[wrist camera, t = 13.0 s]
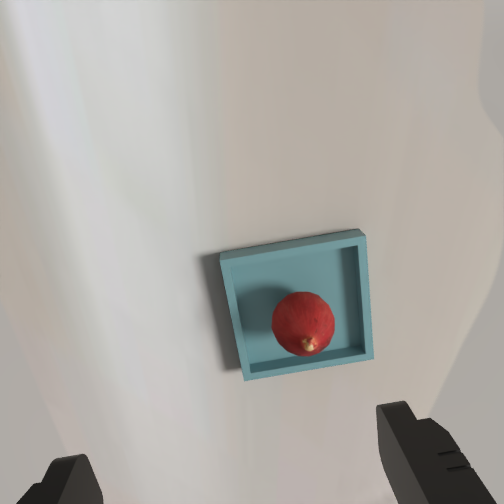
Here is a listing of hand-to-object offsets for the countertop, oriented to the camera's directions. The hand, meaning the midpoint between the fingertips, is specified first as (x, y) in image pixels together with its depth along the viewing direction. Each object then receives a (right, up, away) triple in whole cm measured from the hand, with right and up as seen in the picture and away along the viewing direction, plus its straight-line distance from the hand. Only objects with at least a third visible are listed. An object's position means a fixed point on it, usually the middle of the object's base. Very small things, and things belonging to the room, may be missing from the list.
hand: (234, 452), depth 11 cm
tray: (+5, 0, +30) cm, 31 cm away
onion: (+5, 0, +30) cm, 30 cm away
